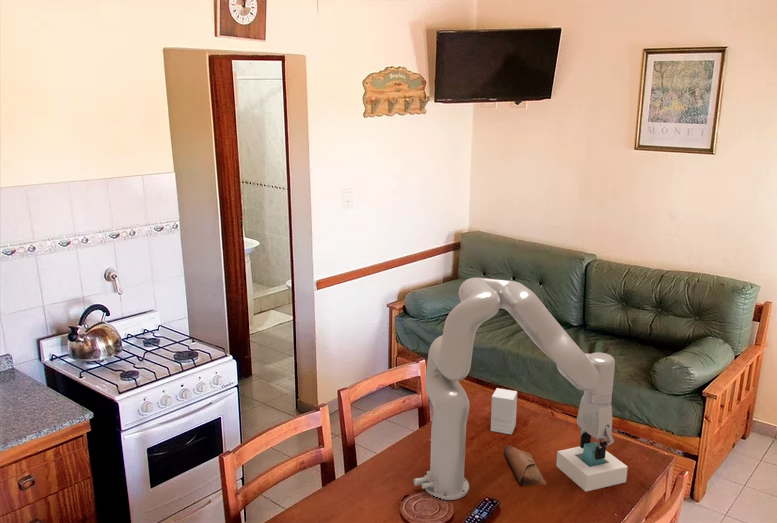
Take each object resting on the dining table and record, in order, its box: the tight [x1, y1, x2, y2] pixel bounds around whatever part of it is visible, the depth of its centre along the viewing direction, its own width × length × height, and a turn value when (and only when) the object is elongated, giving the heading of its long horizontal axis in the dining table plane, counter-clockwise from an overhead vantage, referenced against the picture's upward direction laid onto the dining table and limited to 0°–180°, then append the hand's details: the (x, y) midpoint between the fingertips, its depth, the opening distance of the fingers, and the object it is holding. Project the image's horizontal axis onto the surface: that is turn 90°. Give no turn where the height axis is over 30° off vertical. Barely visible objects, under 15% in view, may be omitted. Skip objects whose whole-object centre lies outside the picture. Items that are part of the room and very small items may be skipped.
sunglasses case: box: [503, 444, 547, 487], centre depth 190 cm, size 18×7×7 cm, turn 6°
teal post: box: [582, 441, 603, 467], centre depth 187 cm, size 4×4×9 cm
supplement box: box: [490, 387, 518, 436], centre depth 213 cm, size 7×7×13 cm
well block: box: [556, 446, 629, 492], centre depth 188 cm, size 14×14×5 cm
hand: (592, 452), depth 186 cm, fingers open, 6 cm apart
